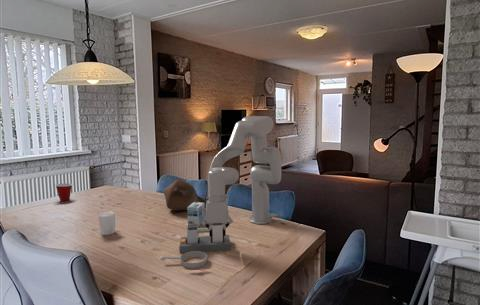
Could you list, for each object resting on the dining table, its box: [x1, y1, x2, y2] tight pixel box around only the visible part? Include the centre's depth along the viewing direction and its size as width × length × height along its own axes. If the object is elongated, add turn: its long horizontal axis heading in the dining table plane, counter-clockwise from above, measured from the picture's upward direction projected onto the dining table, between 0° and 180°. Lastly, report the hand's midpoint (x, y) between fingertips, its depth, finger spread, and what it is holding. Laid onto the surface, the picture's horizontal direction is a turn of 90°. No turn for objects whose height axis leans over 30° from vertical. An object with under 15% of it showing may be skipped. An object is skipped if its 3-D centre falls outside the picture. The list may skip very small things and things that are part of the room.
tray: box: [198, 227, 209, 233], centre depth 153 cm, size 11×11×2 cm
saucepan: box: [161, 251, 208, 271], centre depth 125 cm, size 11×18×4 cm, turn 92°
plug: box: [212, 223, 223, 243], centre depth 139 cm, size 4×4×10 cm
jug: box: [163, 178, 208, 212], centre depth 196 cm, size 20×20×30 cm
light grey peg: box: [186, 224, 199, 244], centre depth 138 cm, size 4×4×10 cm
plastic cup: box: [55, 182, 74, 203], centre depth 221 cm, size 11×11×12 cm
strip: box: [178, 234, 232, 254], centre depth 139 cm, size 22×10×5 cm, turn 96°
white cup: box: [98, 211, 116, 236], centre depth 160 cm, size 8×8×10 cm
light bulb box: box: [186, 202, 206, 227], centre depth 172 cm, size 11×7×11 cm, turn 168°
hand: (217, 237), depth 140 cm, fingers closed on plug, 4 cm apart
